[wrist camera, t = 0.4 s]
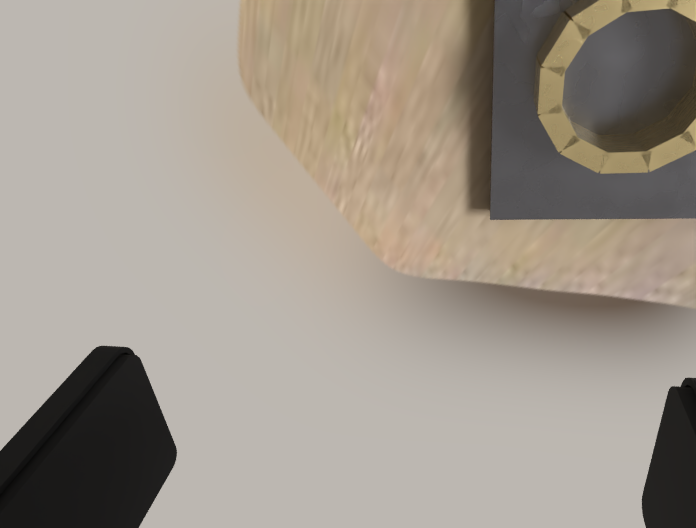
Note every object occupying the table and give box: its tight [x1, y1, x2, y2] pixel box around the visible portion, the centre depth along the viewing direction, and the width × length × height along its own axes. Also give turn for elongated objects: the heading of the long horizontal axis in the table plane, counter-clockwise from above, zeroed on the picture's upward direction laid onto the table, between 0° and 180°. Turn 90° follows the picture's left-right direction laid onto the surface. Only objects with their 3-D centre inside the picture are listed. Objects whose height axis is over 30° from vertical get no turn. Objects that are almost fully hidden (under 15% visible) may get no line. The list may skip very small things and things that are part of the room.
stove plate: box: [490, 0, 696, 220], centre depth 29 cm, size 18×14×4 cm
